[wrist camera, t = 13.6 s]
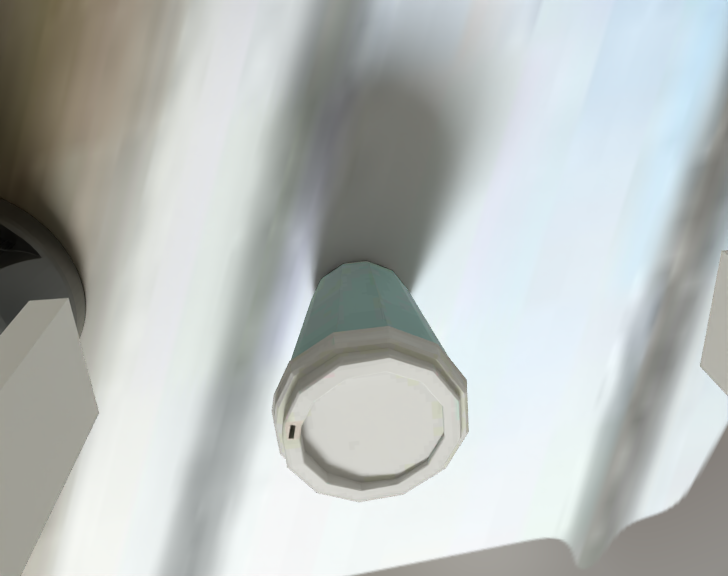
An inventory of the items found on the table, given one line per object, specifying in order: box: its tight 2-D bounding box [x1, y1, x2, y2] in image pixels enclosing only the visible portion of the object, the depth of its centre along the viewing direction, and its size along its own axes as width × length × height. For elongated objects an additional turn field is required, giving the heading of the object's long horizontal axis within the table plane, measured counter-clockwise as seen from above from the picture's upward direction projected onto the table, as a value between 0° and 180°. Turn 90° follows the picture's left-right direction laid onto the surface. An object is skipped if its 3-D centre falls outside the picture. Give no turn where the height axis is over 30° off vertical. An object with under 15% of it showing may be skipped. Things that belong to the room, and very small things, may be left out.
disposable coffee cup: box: [272, 261, 469, 502], centre depth 42 cm, size 11×11×15 cm
